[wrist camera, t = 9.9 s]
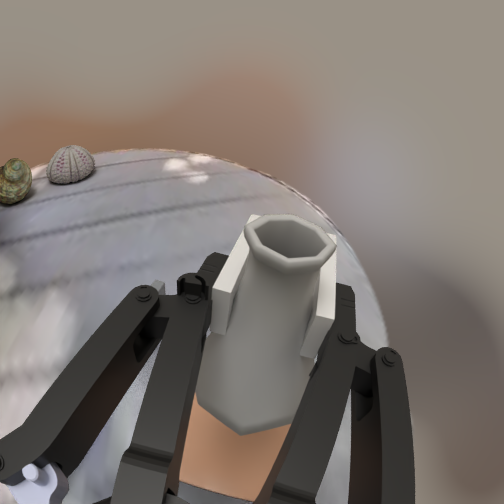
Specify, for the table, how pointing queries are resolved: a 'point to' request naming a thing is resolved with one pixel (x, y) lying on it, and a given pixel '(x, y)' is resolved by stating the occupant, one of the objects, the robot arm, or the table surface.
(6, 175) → the seashell
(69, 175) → the sea urchin shell
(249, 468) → the terracotta tile
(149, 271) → the table surface
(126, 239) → the table surface
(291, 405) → the flask
